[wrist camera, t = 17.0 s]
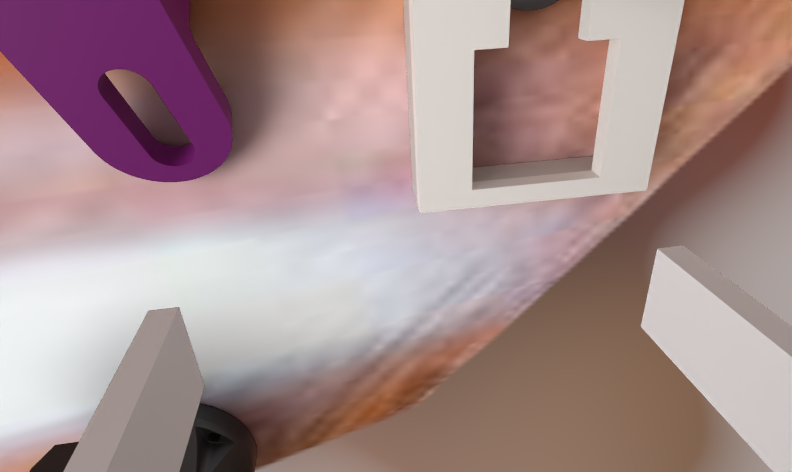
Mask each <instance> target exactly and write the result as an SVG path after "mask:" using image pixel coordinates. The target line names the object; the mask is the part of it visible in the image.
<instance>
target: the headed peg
mask: <svg viewBox="0 0 792 472" xmlns="http://www.w3.org/2000/svg"><path fill="white" fill-rule="evenodd" d="M557 1H559V0H511V5H510V8H514V9H519V10H537V9H541V8H544V7H547V6H549V5H552V4H554V3H555V2H557Z"/></svg>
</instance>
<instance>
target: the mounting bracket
mask: <svg viewBox="0 0 792 472" xmlns="http://www.w3.org/2000/svg"><path fill="white" fill-rule="evenodd" d="M189 16H190V0H0V52H1V53H2V54H3V55H4V56H5V57H6V58H7V59H8V60H9V61H10V62H11V63H12V64H13V66H14V67H15V68H16V69H17V70H18V71H19V72H20V73H21V74H22V75H23V76H24V77H25V78H26V79H27V81H28V82H29V83H30V84H31V85H32V86H33V87H34V88H35V89H36V90H37V91H38V92H39V93H40V95H41V96H42V97H43V98H44V99H45V100H46V101H47V102H48V103H49V104H50V105H51V106H52V107H53V109H54V110H55V111H56V112H57V113H58V114H59V115H60V116H61V117H62V118H63V119H64V120H65V121H66V123H67V124H68V125H69V126H70V127H71V128H72V129H73V130H74V131H75V132H76V133H77V134H78V135H79V136H80V138H81V139H82V140H83V141H84V142H85V143H86V144H87V145H88V146H89V147H90V148H91V149H92V150H93V152H94V153H96V154H97V155H98V156H99V157H100V158H101V159H102V160H104V161H105V162H106V163H108V164H109V165H111V166H112V167H114V168H116V169H118V170H120V171H122V172H124V173H127V174H129V175H132V176H135V177H138V178H142V179H146V180H151V181H159V182H181V181H188V180H192V179H196V178H199V177H202V176H204V175H207V174H209V173H210V172H212V171H214V170H215V169H217V168H218V167H219V166H220V165H221V164H222V163H223V162H224V161H225V159H226V158H227V156H228V154H229V152H230V149H231V146H232V113H231V109H230V106H229V103H228V101H227V99H226V97H225V95H224V93H223V92H222V90H221V88H220V86H219V84H218V82H217V81H216V79H215V77H214V75H213V73H212V71H211V70H210V68H209V66H208V64H207V62H206V60H205V59H204V57H203V55H202V53H201V51H200V49H199V48H198V46H197V44H196V42H195V40H194V38H193V36H192V34H191V31H190V27H189ZM114 69H126V70H130V71H133V72H136V73H138V74H140V75H142V76H143V77H145V78H146V79H147V80H148V81H149V82H150V83H151V84H152V86H153V87H154V89H155V90H156V91H157V93H158V94H159V96H160V97H161V99H162V100H163V102H164V103H165V105H166V106H167V108H168V109H169V110H170V112H171V113H172V115H173V116H174V118H175V119H176V121H177V122H178V124H179V125H180V127H181V128H182V130H183V131H184V132H185V134H186V135H187V137H188V138H189V140H190V141H191V143H190V144H188V145H185V146H180V147H173V146H168V145H165V144H162V143H160V142H159V141H157V140H156V139H155V138H154V137H153V136H152V135H151V134H150V132H149V131H148V130H147V128H146V127H145V126H144V124H143V123H142V122H141V120H140V119H139V118H138V117H137V115H136V114H135V113H134V111H133V110H132V109H131V107H130V106H129V105H128V103H127V102H126V101H125V99H124V98H123V97H122V96H121V94H120V93H119V92H118V90H117V89H116V88H115V86H114V85H113V84H112V82H111V81H110V80H109V78H108V77H107V76H106V74H105V72H107V71H110V70H114Z"/></svg>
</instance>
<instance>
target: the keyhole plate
mask: <svg viewBox="0 0 792 472" xmlns="http://www.w3.org/2000/svg"><path fill="white" fill-rule="evenodd" d="M684 1H685V0H582V7H581V16H580V25H579V34H578V38H579V39H582V40H586V41H595V40H607V39H610V40H609V47H608V54H607V61H606V69H605V76H604V83H603V90H602V97H601V105H600V112H599V119H598V126H597V133H596V141H595V148H594V155H593V156H587V157H577V158H566V159H556V160H545V161H535V162H525V163H514V164H504V165H493V166H483V167H473V168H472V162H473V98H474V50H483V49H495V48H508V47H509V26H510V5H511V0H403V5H404V26H405V47H406V68H407V89H408V110H409V131H410V152H411V173H412V191H413V193H414V196H415V199H416V202H417V205H418V208H419V211H420V213H427V212H437V211H447V210H457V209H467V208H477V207H487V206H496V205H506V204H516V203H526V202H536V201H546V200H555V199H565V198H575V197H585V196H595V195H605V194H615V193H624V192H634V191H644V190H647V186H648V181H649V176H650V171H651V166H652V161H653V156H654V151H655V146H656V141H657V136H658V131H659V126H660V121H661V116H662V111H663V106H664V101H665V96H666V91H667V86H668V81H669V76H670V71H671V66H672V61H673V56H674V51H675V46H676V41H677V36H678V31H679V26H680V21H681V16H682V11H683V6H684Z"/></svg>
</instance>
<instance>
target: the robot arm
mask: <svg viewBox="0 0 792 472" xmlns="http://www.w3.org/2000/svg"><path fill="white" fill-rule="evenodd" d="M641 327H642V329H643V330H645V332H646V333H647V334H648V335H649V336H650V337H651V338H652V340H653V341H654V342H655V343H656V344H657V345H658V346H659V347H660V348H661V349H662V350H663V352H664V353H665V354H666V355H667V356H668V357H669V358H670V359H671V360H672V361H673V363H674V364H675V365H676V366H677V367H678V368H679V369H680V370H681V371H682V372H683V373H684V375H686V377H687V378H688V379H689V380H690V381H691V382H692V383H693V384H694V385H695V387H696V388H697V389H698V390H699V391H700V392H701V393H702V394H703V395H704V396H705V398H706V399H707V400H708V401H709V402H710V403H711V404H712V405H713V406H714V407H715V408H716V410H717V411H718V412H719V413H720V414H721V415H722V416H723V417H724V418H725V419H726V420H727V422H728V423H729V424H730V425H731V426H732V427H733V428H734V429H735V430H736V431H737V433H738V434H739V435H740V436H741V437H742V438H743V439H744V440H745V441H746V442H747V444H749V446H750V447H751V448H752V449H753V450H754V451H755V452H756V453H757V454H758V456H759V457H760V458H761V459H762V460H763V461H764V462H765V463H766V464H767V465H768V467H769V468H770V469H771V470H772V471H773V472H792V326H791V325H789V324H788V323H787V322H785V321H784V320H783V319H781V318H780V317H779V316H777V315H776V314H775V313H773V312H772V311H771V310H769V309H768V308H766V307H765V306H764V305H762V304H761V303H759V302H758V301H757V300H756V299H754V298H753V297H752V296H750V295H749V294H748V293H746V292H745V291H744V290H742V289H741V288H739V287H738V286H737V285H735V284H734V283H732V282H731V281H730V280H729V279H727V278H726V277H724V276H723V275H722V274H721V273H719V272H718V271H717V270H715V269H714V268H712V267H711V266H710V265H708V264H707V263H706V262H704V261H703V260H702V259H700V258H699V257H698V256H696V255H695V254H694V253H692V252H691V251H690V250H688V249H687V248H686V247H684V246H676V247H668V248H659V249H657V253H656V258H655V263H654V267H653V272H652V277H651V281H650V286H649V291H648V295H647V300H646V305H645V310H644V315H643V319H642V324H641ZM203 390H204V383H203V380H202V377H201V374H200V370H199V367H198V364H197V361H196V358H195V355H194V352H193V349H192V346H191V343H190V340H189V336H188V333H187V330H186V327H185V324H184V321H183V318H182V315H181V312H180V309H179V307H175V308H167V309H159V310H151V311H148V313H147V315H146V316H145V318H144V320H143V322H142V324H141V326H140V328H139V330H138V332H137V333H136V335H135V337H134V339H133V341H132V343H131V345H130V347H129V349H128V350H127V352H126V354H125V356H124V358H123V360H122V362H121V364H120V366H119V367H118V369H117V371H116V373H115V375H114V377H113V379H112V381H111V383H110V384H109V386H108V388H107V390H106V392H105V394H104V396H103V398H102V400H101V401H100V403H99V405H98V407H97V409H96V411H95V413H94V415H93V417H92V419H91V420H90V422H89V424H88V426H87V428H86V430H85V432H84V434H83V436H82V437H81V439H80V441H79V442H74V443H67V444H60V445H55V446H54V447H53V448H52V449H51V450H50V451H49V452H48V453H47V454H46V455H45V456H44V457H43V458H42V459H41V460H40V461H39V462H38V463H37V464H36V465H35V466H34V467H32V468H31V470H30V472H254V471H255V465H256V459H257V447H256V443H255V440H254V438H253V436H252V435H251V433H250V432H249V430H248V429H247V428H246V427H245V426H244V425H243V424H242V423H241V422H240V421H238V420H237V419H236V418H234V417H232V416H231V415H229V414H227V413H225V412H223V411H221V410H218V409H215V408H212V407H209V406H205V405H201V404H199V403H200V400H201V396H202V393H203Z"/></svg>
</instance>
